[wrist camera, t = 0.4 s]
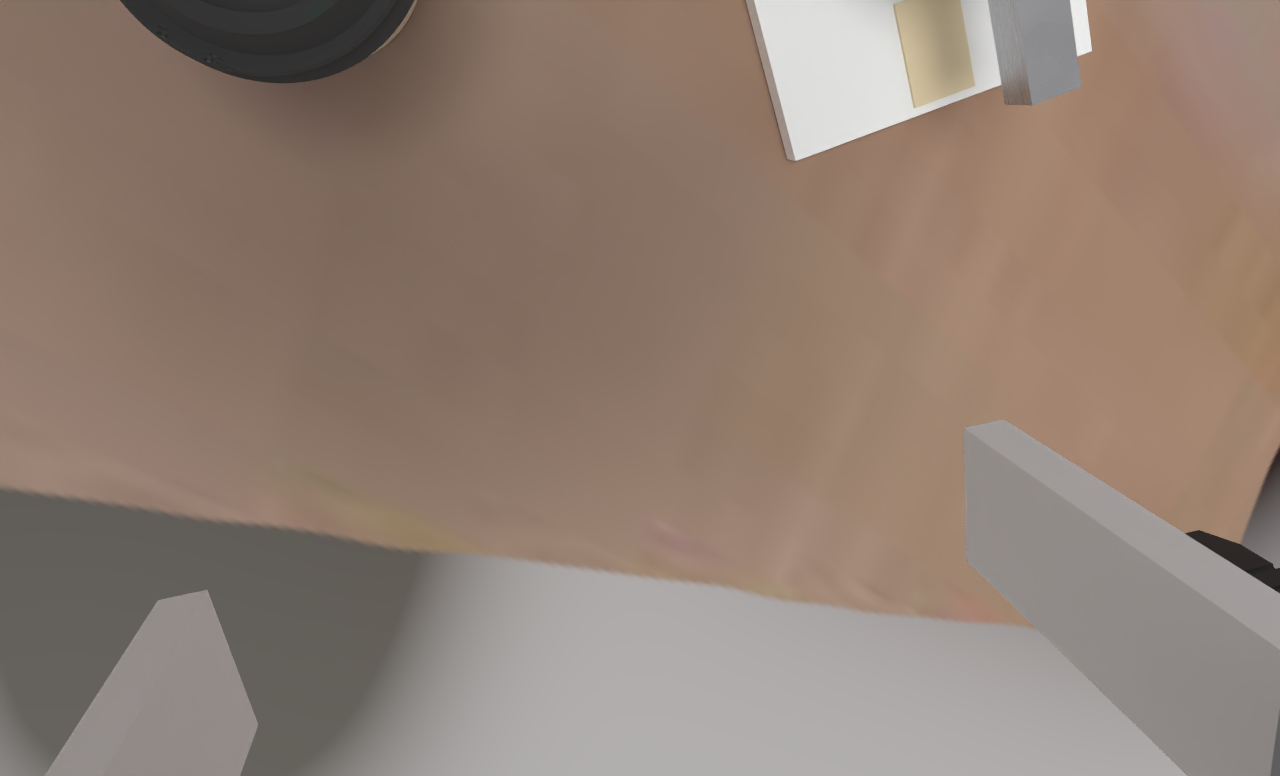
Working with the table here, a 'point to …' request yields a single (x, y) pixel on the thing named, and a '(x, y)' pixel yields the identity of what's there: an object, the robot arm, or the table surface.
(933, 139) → the table surface
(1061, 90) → the knob
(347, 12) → the coffee cup
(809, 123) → the lock base
